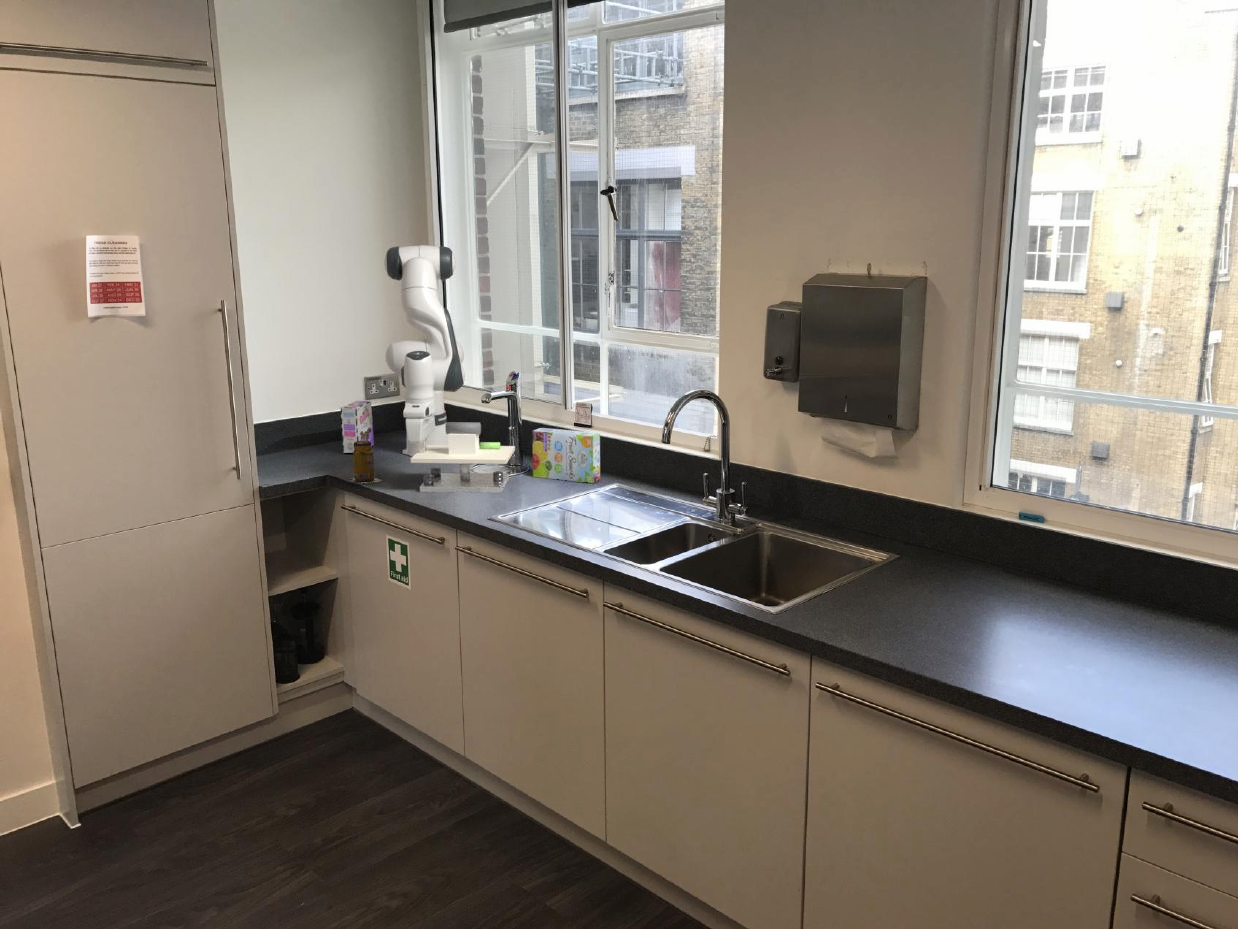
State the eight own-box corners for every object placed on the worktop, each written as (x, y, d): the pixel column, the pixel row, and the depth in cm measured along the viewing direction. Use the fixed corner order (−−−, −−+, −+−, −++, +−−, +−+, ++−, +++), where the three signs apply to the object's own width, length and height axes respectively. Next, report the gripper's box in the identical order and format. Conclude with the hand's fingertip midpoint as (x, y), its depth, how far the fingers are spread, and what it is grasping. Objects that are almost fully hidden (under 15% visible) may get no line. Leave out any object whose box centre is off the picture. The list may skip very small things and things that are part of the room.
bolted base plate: (420, 491, 297) (418, 465, 295) (431, 478, 313) (430, 453, 311) (500, 492, 296) (500, 466, 294) (508, 478, 312) (508, 453, 310)
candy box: (359, 454, 344) (355, 407, 340) (342, 454, 345) (339, 407, 341) (374, 446, 357) (371, 400, 353) (359, 445, 358) (356, 399, 354)
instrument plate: (410, 462, 294) (409, 428, 292) (424, 448, 312) (423, 416, 309) (506, 463, 293) (505, 429, 291) (514, 449, 311) (514, 417, 308)
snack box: (601, 480, 310) (600, 432, 306) (593, 484, 305) (592, 435, 301) (540, 473, 319) (539, 426, 315) (532, 477, 314) (530, 429, 310)
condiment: (370, 476, 316) (367, 438, 313) (382, 481, 310) (380, 443, 307) (348, 479, 312) (345, 441, 309) (360, 485, 305) (357, 446, 302)
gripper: (418, 400, 309) (420, 444, 313) (401, 412, 290) (404, 459, 293) (438, 400, 309) (441, 444, 312) (423, 413, 289) (425, 459, 292)
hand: (423, 452), depth 302 cm, fingers closed, pressing on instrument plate
